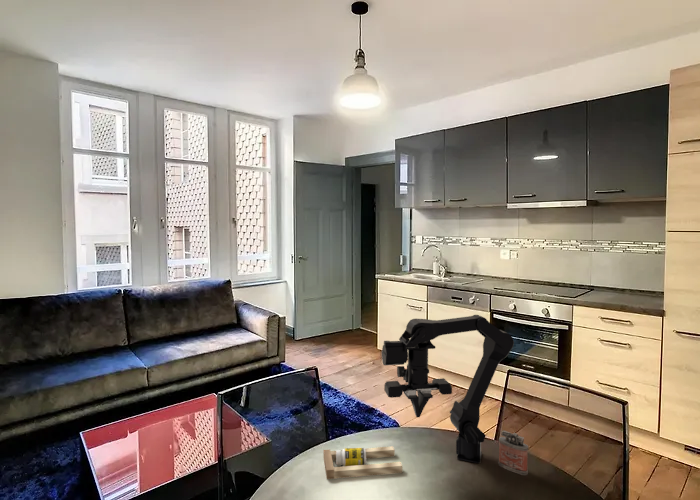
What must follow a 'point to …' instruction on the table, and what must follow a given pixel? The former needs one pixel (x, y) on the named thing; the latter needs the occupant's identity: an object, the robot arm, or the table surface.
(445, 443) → the table surface
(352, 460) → the supplement bottle
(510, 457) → the lighter
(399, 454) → the table surface
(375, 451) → the cradle
